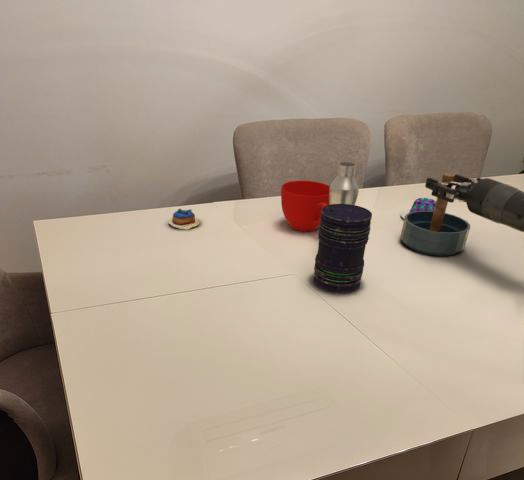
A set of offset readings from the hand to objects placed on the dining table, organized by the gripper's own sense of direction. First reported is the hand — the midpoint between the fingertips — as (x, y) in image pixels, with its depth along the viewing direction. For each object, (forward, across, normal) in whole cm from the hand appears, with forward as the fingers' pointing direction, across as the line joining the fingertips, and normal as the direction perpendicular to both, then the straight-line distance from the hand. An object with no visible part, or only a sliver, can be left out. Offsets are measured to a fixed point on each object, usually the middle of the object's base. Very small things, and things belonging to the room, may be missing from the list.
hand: (440, 180), depth 116 cm
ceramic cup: (+18, +24, +15) cm, 33 cm away
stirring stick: (-2, 0, +14) cm, 14 cm away
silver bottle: (+3, +25, +15) cm, 30 cm away
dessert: (+33, +51, +15) cm, 63 cm away
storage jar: (-10, +34, +15) cm, 38 cm away
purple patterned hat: (+13, -11, +15) cm, 23 cm away
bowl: (-2, 0, +15) cm, 15 cm away
